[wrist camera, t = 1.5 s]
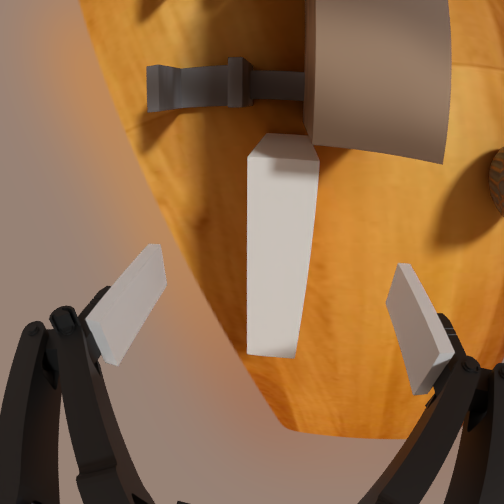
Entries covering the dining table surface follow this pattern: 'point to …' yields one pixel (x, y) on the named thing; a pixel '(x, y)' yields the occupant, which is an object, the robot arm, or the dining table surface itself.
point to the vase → (497, 180)
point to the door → (279, 240)
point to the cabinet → (344, 78)
